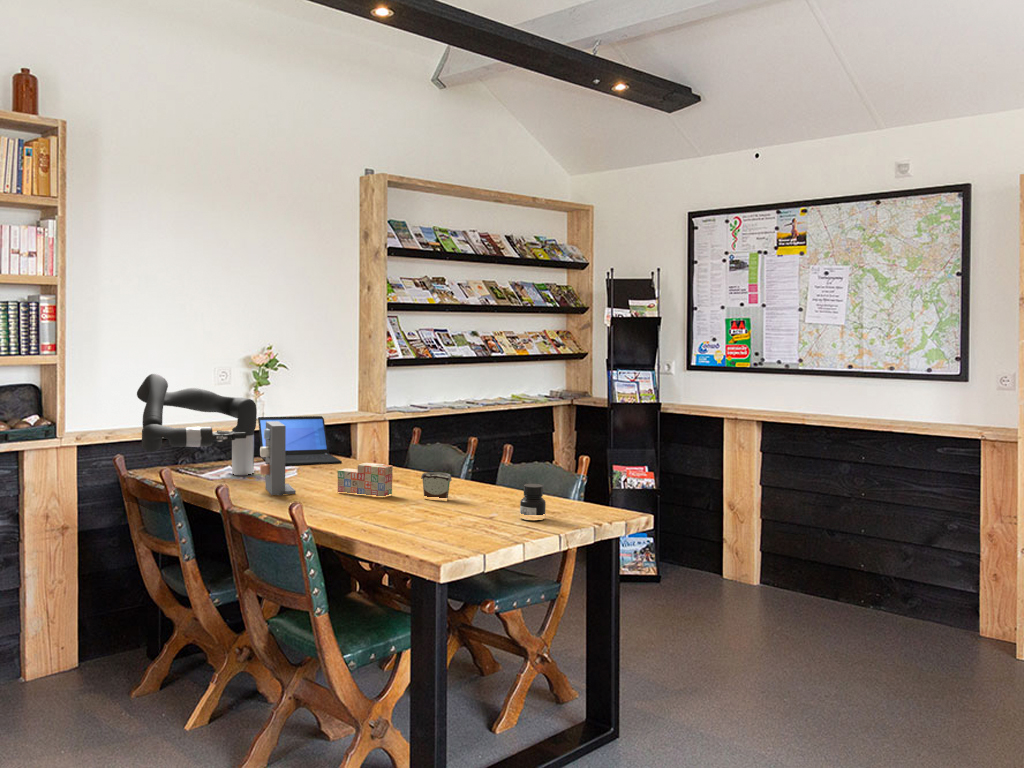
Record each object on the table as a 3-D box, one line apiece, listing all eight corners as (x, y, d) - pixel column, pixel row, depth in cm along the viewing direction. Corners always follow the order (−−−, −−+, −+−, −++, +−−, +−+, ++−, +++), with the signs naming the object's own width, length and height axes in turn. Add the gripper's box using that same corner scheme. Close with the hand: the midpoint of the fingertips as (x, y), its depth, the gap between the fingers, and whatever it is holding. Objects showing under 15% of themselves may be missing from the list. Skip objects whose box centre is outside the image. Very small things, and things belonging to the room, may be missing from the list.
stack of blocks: (336, 493, 349) (337, 462, 348) (345, 490, 355) (345, 460, 354) (384, 498, 341) (385, 467, 340) (392, 496, 347) (393, 464, 346)
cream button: (260, 456, 348) (260, 446, 347) (270, 455, 349) (270, 445, 349) (261, 457, 344) (261, 447, 344) (272, 457, 346) (272, 447, 345)
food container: (456, 499, 343) (456, 473, 343) (450, 502, 337) (450, 476, 337) (427, 496, 347) (427, 471, 347) (420, 499, 342) (421, 473, 341)
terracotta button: (260, 473, 348) (260, 463, 348) (270, 473, 350) (270, 463, 349) (261, 475, 344) (261, 465, 344) (272, 475, 346) (272, 465, 346)
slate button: (263, 438, 348) (263, 428, 347) (274, 438, 349) (274, 428, 349) (265, 439, 344) (265, 429, 344) (275, 439, 346) (276, 429, 345)
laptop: (271, 467, 406) (271, 425, 405) (257, 455, 440) (257, 417, 439) (342, 464, 421) (342, 423, 419) (323, 453, 454) (323, 415, 453)
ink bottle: (514, 517, 313) (515, 484, 312) (534, 515, 318) (535, 482, 317) (530, 523, 305) (531, 488, 304) (550, 520, 310) (551, 486, 309)
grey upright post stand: (265, 488, 355) (265, 421, 353) (288, 487, 359) (288, 420, 357) (271, 495, 341) (272, 426, 339) (295, 494, 344) (296, 425, 343)
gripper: (197, 444, 342) (243, 442, 349) (200, 449, 330) (248, 447, 337) (197, 424, 341) (243, 423, 348) (200, 429, 329) (248, 427, 336)
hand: (246, 435), depth 342 cm, fingers closed
